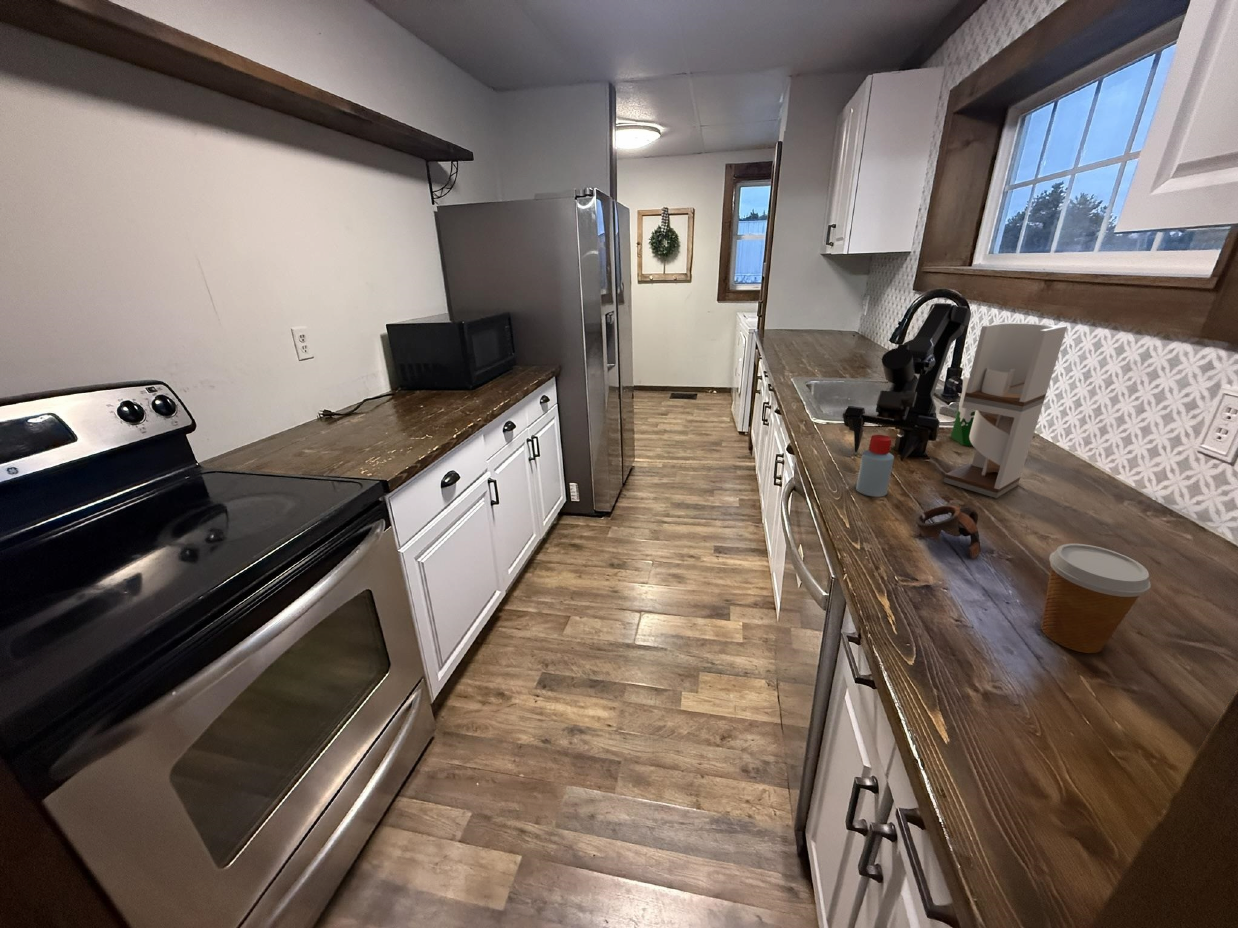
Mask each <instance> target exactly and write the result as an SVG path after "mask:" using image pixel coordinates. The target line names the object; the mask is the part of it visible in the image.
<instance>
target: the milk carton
mask: <svg viewBox="0 0 1238 928" xmlns="http://www.w3.org/2000/svg"><path fill="white" fill-rule="evenodd" d="M969 377H970V375H963V376H962V389H961V396H960V399H959V403H958V408H957V412H956V415H955V420H954V423H953V427H952V430H951V433H950V436H949V438H950V439H952V440H954V441H955V442H957V443H959V444H960V445H962V446H973V445H972V444H971V442H970V439H969V435H970V431H971V427H972V423H973V419H974V416H975V412H976V410H972V409H967V408H962V405H963V401H964V397H965V393H966V389H967V385H968V381H969ZM973 447H974V446H973Z"/></svg>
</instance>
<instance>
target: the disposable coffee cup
mask: <svg viewBox="0 0 1238 928" xmlns="http://www.w3.org/2000/svg"><path fill="white" fill-rule="evenodd" d="M1048 559H1049V564H1050V571H1049V573H1050V574H1049V578H1048V584H1047V590H1046V595H1045V596H1046V597H1045V602H1044V607H1043V613H1042V621H1041V625H1040V628H1041V632H1043V634H1044V635H1045V636H1046V637H1047V638H1048V639H1050V640H1051V641H1052V642H1054V643H1056V644H1058V645H1059V646H1062V647H1063V648H1066V649H1069V650H1072V651H1074V652H1078V653H1084V654H1097V653H1100V652H1101V651H1102V650H1103V648H1104V647H1105V645H1106V644H1107V643H1108V641H1110V638H1112V635H1113V634H1114V632H1116V630H1117V628H1118V627H1119V625H1120V624H1121V623H1122V621H1123V620H1124V618H1125V617H1126V615H1127V614H1128V613H1129V611H1130V610H1131V609H1132V607H1133V606H1134V604H1135V603H1136V602H1137V600H1138V599H1139V598H1140V596H1141V595H1143V594H1144V593H1146V592H1148V591H1149V590H1150V588H1151V587H1152V583H1151V581H1150V572H1149V571H1148V569H1147V568H1146V567H1145V565H1144V566H1143V565H1142V564H1141V563H1140V562H1139V561H1137V560H1135V559H1133V558H1130V557H1129V556H1127V555H1124V554H1121V553H1119V552H1117V551H1114V550H1111V549H1108V548H1105V547H1100V546H1095V545H1090V544H1083V543H1066V544H1061V545H1060V546H1058V547H1057V548H1056V550H1055V551H1052V552H1051V553H1050V554H1049V557H1048Z"/></svg>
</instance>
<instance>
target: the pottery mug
mask: <svg viewBox="0 0 1238 928" xmlns="http://www.w3.org/2000/svg"><path fill="white" fill-rule="evenodd" d="M948 514H950V517H948V518H946V519H944V520H939V521H936V522H927V521H928V520H929V521H930V519H932V518H935V517H939V516H942V515H948ZM923 515H924V517H923ZM923 515H922V514H921V515H918V516H917V517H916V518H915V524H916V528H915V533H916V535H918V536H919V537H923V538H931V539H933V540H934V541H936V542H939V539H940V535H941V533H942V532H943V533H945V534H947V535H950V536H952V537H954V538H958V537H961V536H962V537H964V538H965V537H966V538H967V537H970V546H969V547H968V551H969V554H970V555H969V556H970V559H973V560H974V559H975V558H977V557H978V556H979V555H980V554H981V552H982V549H981V541H980V533H979V528H978V526H977V524H978V522H979V513H978V512H977V510H976V509H975V508H973V507H971V506H964V507H958V506H956V505H949V504H948V505H947V504H946V505H939V506H936V507H933V508H930V509H927V510H925V511H924V512H923Z"/></svg>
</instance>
